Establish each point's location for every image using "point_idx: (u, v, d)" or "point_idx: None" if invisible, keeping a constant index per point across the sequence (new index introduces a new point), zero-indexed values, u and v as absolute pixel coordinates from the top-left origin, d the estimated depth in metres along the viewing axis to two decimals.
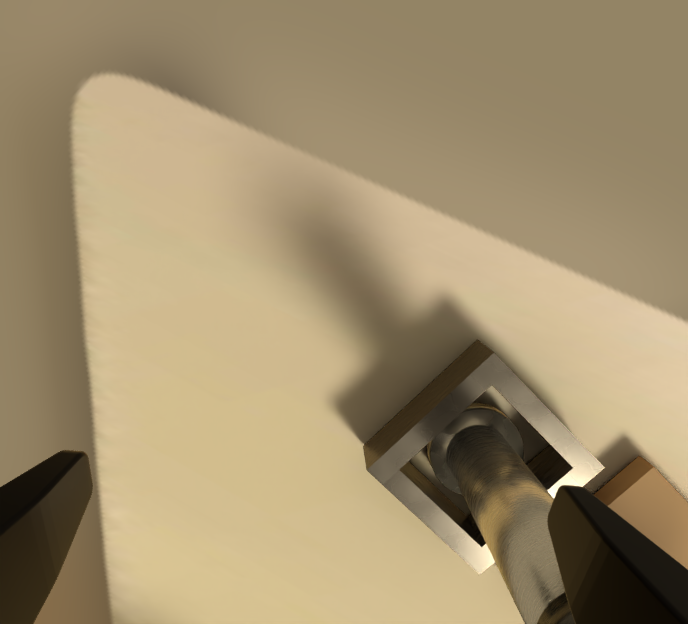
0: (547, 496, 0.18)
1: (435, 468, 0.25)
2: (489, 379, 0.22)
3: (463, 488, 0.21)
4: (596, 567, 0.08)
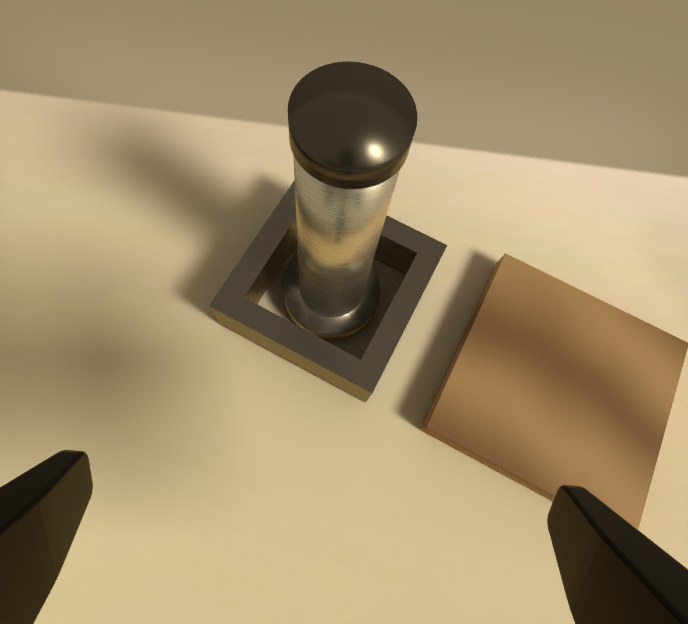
0: None
1: (294, 312, 0.23)
2: None
3: (299, 267, 0.21)
4: (596, 567, 0.08)
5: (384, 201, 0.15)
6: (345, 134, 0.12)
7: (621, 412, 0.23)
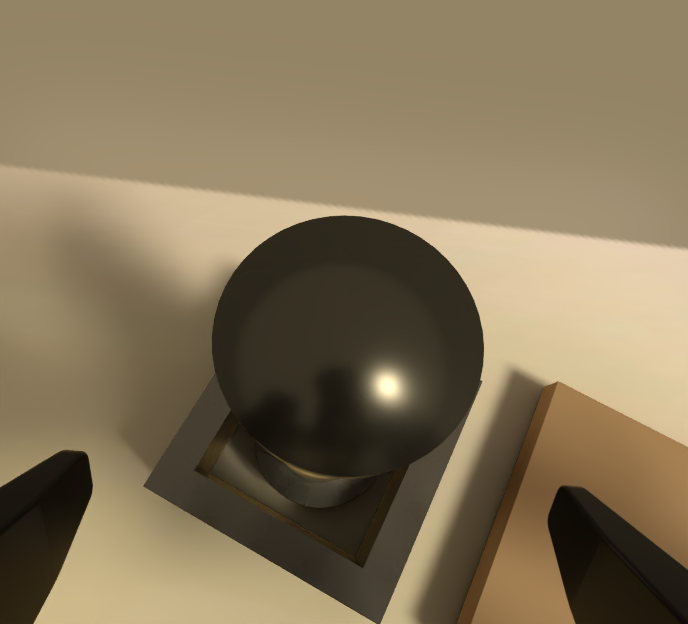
0: None
1: (269, 476, 0.17)
2: None
3: None
4: (596, 567, 0.08)
5: None
6: (334, 391, 0.06)
7: None
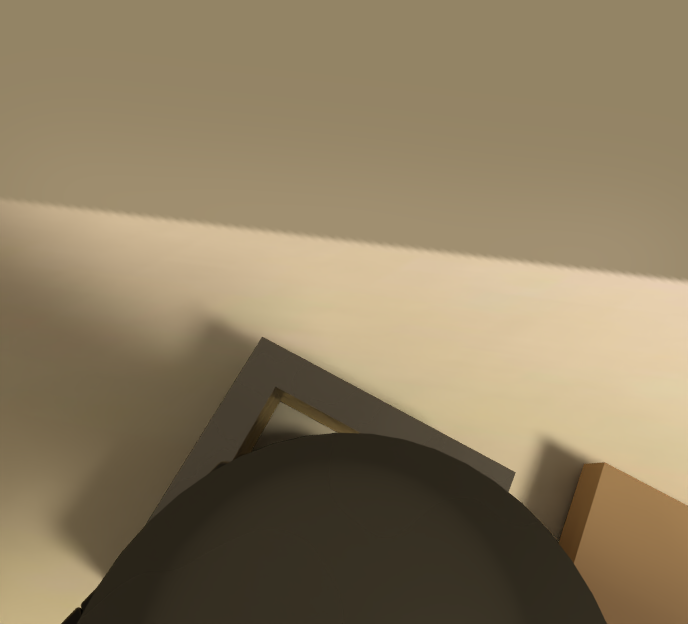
0: None
1: None
2: (268, 379, 0.14)
3: None
4: None
5: None
6: None
7: None
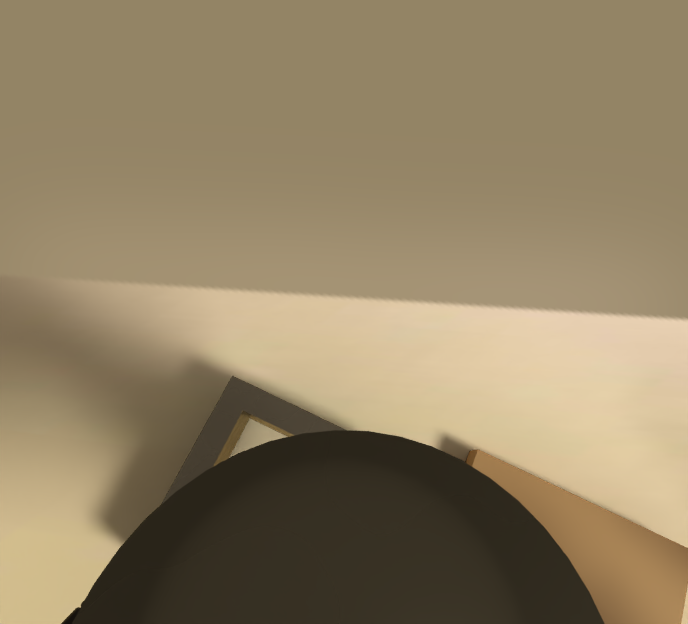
0: None
1: None
2: (237, 405, 0.20)
3: None
4: None
5: None
6: None
7: None
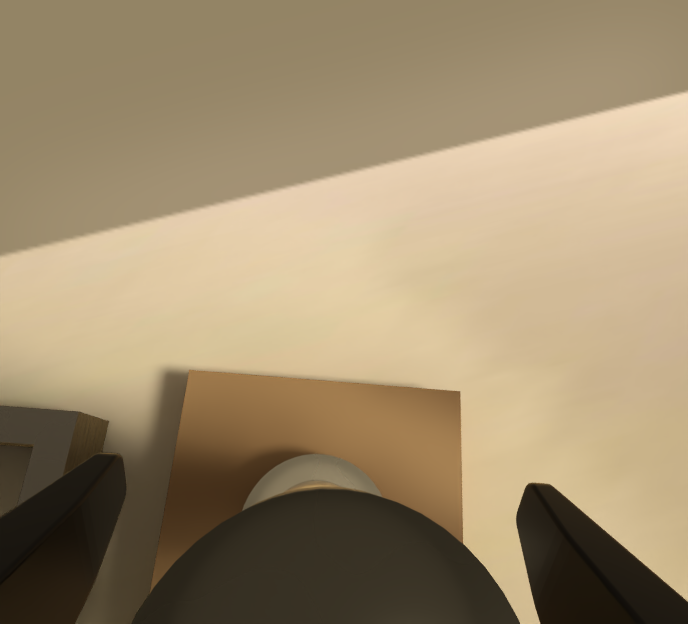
0: (333, 486, 0.10)
1: None
2: None
3: None
4: (558, 564, 0.08)
5: None
6: None
7: None
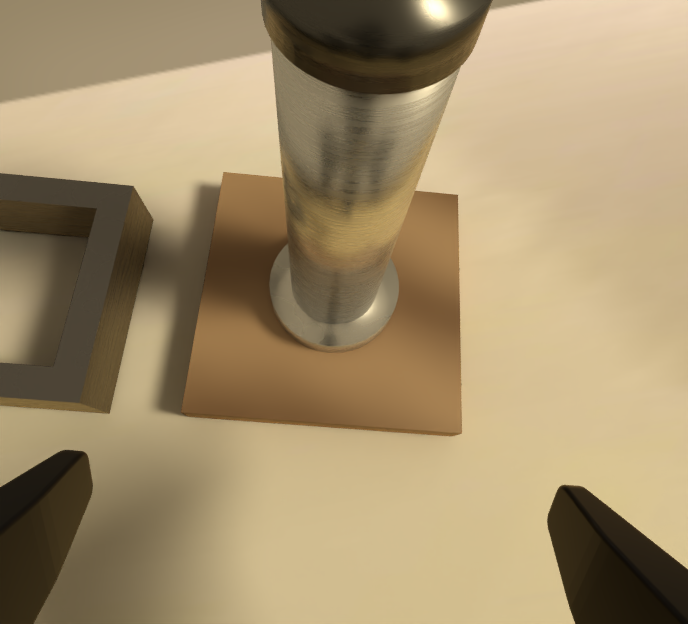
0: None
1: (284, 317, 0.17)
2: None
3: (289, 254, 0.14)
4: (596, 567, 0.08)
5: (428, 133, 0.09)
6: None
7: (407, 298, 0.19)
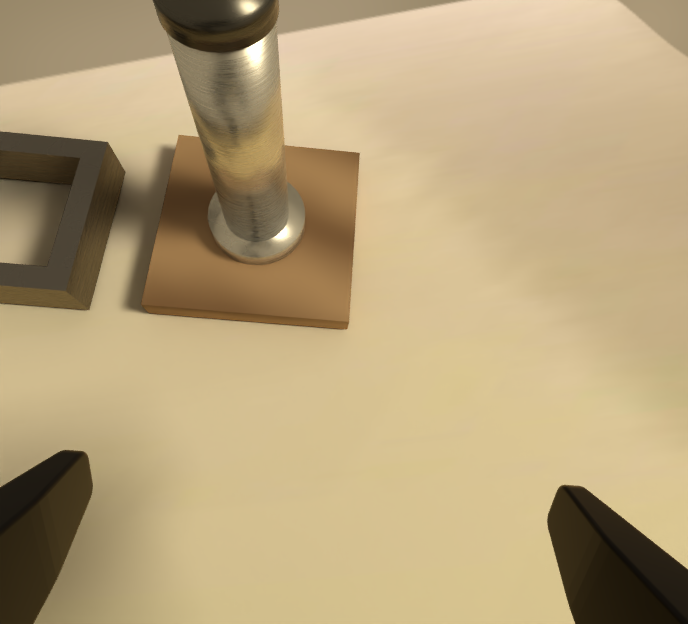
0: None
1: (217, 236, 0.23)
2: None
3: (213, 181, 0.21)
4: (596, 567, 0.08)
5: (262, 80, 0.15)
6: None
7: (314, 227, 0.25)
